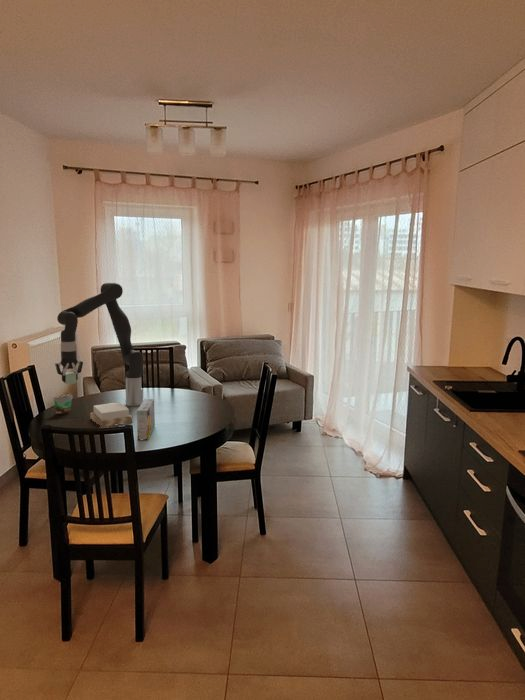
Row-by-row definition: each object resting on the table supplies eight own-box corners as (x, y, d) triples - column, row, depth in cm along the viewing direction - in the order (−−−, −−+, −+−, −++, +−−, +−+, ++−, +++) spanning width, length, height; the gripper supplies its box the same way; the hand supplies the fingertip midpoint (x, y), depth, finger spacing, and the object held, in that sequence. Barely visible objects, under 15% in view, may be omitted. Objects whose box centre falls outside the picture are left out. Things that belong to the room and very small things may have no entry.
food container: (64, 416, 247) (63, 398, 246) (54, 415, 249) (53, 397, 247) (77, 410, 259) (77, 393, 258) (68, 409, 261) (67, 392, 259)
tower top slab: (119, 409, 252) (119, 402, 251) (129, 416, 239) (128, 409, 239) (93, 412, 244) (93, 405, 243) (102, 420, 231) (101, 413, 231)
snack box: (144, 426, 235) (144, 398, 233) (155, 426, 236) (155, 398, 234) (136, 440, 215) (136, 410, 212) (148, 440, 215) (148, 410, 213)
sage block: (73, 381, 242) (72, 372, 241) (76, 382, 238) (76, 373, 237) (63, 382, 239) (63, 373, 238) (66, 384, 235) (66, 374, 234)
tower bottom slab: (119, 415, 254) (119, 408, 254) (132, 423, 241) (132, 416, 240) (90, 419, 244) (90, 412, 244) (102, 429, 231) (102, 421, 230)
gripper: (80, 347, 243) (81, 378, 246) (52, 349, 234) (53, 381, 237) (85, 349, 237) (86, 381, 240) (56, 351, 228) (57, 384, 231)
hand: (69, 381), depth 238 cm, fingers closed on sage block, 5 cm apart
